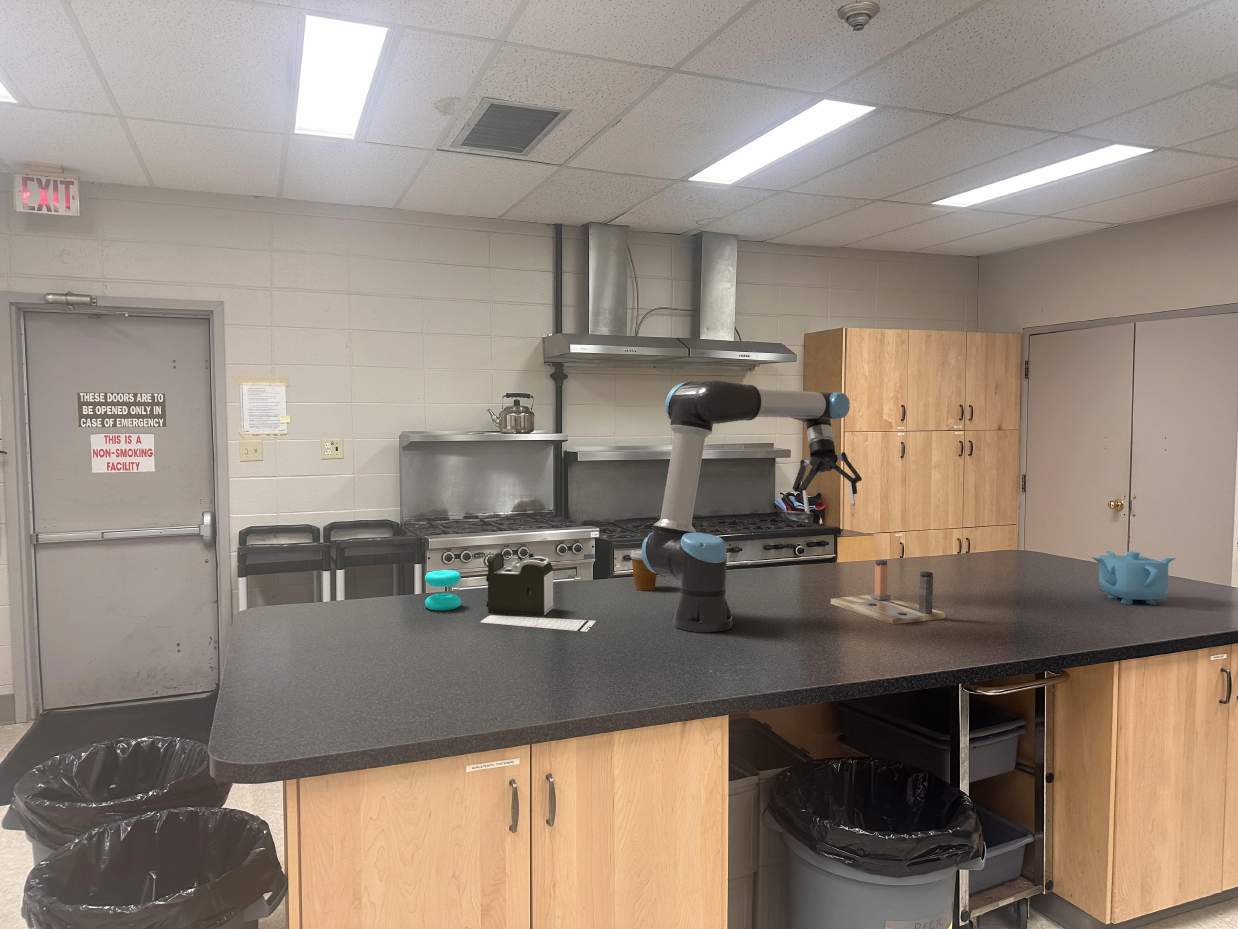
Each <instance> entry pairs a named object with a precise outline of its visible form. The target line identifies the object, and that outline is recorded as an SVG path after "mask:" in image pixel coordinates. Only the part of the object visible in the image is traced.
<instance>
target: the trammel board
mask: <svg viewBox="0 0 1238 929" xmlns="http://www.w3.org/2000/svg"><path fill="white" fill-rule="evenodd" d="M918 589H919V592H918V593H919V594H918V595H919V596H918V598H919V599H918V604H915V603H912V602H910V601H905V600H902V599H898V598H895V597H892V596H891V599H888V600H877V599H874V598H870V594H868V595H867V594H865V595H855V596H845V597H843V596H842V597H836V598H835V597H834V598H833V597H832V598H830V605H833V606H836V607H840V608H843V609H845V610H848V611H851V612H854V613H857V614H860V615H863V616H866V617H869V618H872V617H873V618H872V619H875V620H879V621H881V620H882V621H881V622H884V621H885V622H884V623H887V624H890V623H891V624H890V625H899V623H900V624H907V623H916V622H917V623H918V622H926V620H927V621H934V620H935V621H936V620H943V619H944V618H945V619H946V612H943V611H939V610H936V609H933V606H934V605H933V603H934V602H933V600H934V599H933V598H934V596H933V595H934V572H932V571H920V573H919V588H918ZM864 601H874V602H877V603H880V604H883V605H887V606H890V607H893V608H896V609H900V610H903V611H906V612H909V613H913V614H916V615H919V616H922V618H916V619H907V620H903V619H900V618H897V617H893V616H890V615H887V614H884V613H881V612H878V611H875V610H872V609H869V608H865V607H862V606H859V605H856V604H854V602H864Z"/></svg>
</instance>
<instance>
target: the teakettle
mask: <svg viewBox="0 0 1238 929" xmlns="http://www.w3.org/2000/svg"><path fill="white" fill-rule="evenodd" d="M1105 552H1106V554H1105V555H1104V554H1101V555H1099V557H1090V559H1093V561H1095V562H1097V564H1098V566H1099V571H1098V590H1099V591H1101V592H1105V593H1107V594H1108V595H1107V597H1109V598H1108V599H1110V598H1115V599H1114V600H1118V599H1119V598H1120V599H1121V601H1120V603H1121V604H1124V605H1133V603H1134V602H1133V601H1135V600H1136V601H1137V600H1140V601H1141V600H1144V602H1145V604H1148V605H1158V603H1157V601H1161V600H1162V601H1167V600H1168V586H1169V582H1168V581H1169V564H1171V563H1170V562H1172V561H1174V560H1176V558H1175V557H1165V558H1163V559H1162V560H1157V559H1154V558H1149V557H1146V556H1142V555H1141V553H1140V552H1137V551H1127V552H1126V555H1125V554H1124V555H1122V554H1121V555H1118V554H1115V552H1113V551H1111V550H1106V551H1105ZM1117 598H1118V599H1117ZM1156 600H1157V601H1156Z"/></svg>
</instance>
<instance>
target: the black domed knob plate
mask: <svg viewBox="0 0 1238 929" xmlns="http://www.w3.org/2000/svg"><path fill="white" fill-rule="evenodd" d="M854 604H856V605H859V606H862V607H865V608H869V609H872V610H875V611H878V612H881V613H884V614H887V615H890V616H893V617H897V618H900V619H903V620H907V619H916V618H922V616H919V615H916V614H913V613H909V612H906V611H903V610H900V609H896V608H893V607H890V606H887V605H883V604H880V603H877V602H874V601H864V602H854Z"/></svg>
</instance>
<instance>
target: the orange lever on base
mask: <svg viewBox="0 0 1238 929" xmlns="http://www.w3.org/2000/svg"><path fill="white" fill-rule="evenodd" d="M869 595H870V598H874V599H877V600H888V599H891V597H892V596H891V594H889V593H888V560H884V559H875V563H874V592H872V593H870V594H869Z"/></svg>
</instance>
